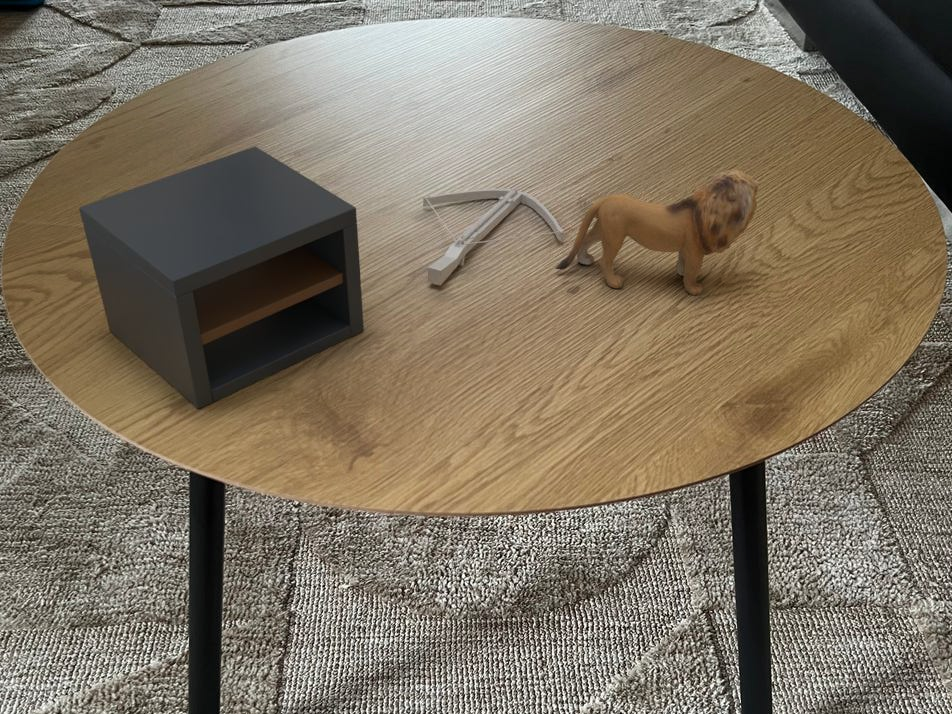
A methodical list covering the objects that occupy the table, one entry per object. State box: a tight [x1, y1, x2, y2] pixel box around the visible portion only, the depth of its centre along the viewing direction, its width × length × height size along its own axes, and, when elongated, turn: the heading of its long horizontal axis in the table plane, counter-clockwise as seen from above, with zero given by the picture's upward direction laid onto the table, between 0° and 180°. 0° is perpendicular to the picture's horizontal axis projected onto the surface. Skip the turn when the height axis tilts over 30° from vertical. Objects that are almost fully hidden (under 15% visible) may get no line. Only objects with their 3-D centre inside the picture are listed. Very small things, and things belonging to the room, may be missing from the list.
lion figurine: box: [555, 169, 760, 296], centre depth 83 cm, size 15×5×9 cm, turn 90°
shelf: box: [78, 146, 365, 410], centre depth 77 cm, size 12×14×10 cm
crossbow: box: [422, 187, 565, 286], centre depth 89 cm, size 16×13×2 cm
